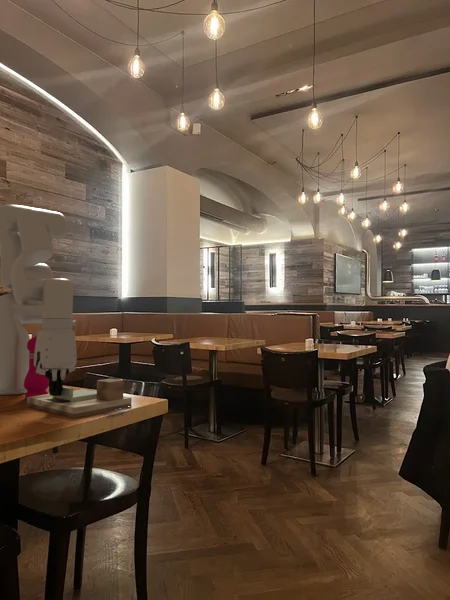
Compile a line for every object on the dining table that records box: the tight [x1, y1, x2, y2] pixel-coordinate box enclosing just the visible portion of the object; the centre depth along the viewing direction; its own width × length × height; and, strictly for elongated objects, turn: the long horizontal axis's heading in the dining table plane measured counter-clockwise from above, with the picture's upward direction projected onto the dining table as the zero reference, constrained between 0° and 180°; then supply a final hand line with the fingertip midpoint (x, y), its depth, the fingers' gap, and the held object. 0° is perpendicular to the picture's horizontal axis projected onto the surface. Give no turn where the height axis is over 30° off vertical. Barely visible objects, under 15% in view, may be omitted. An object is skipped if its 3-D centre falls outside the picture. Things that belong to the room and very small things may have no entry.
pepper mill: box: [24, 331, 49, 401], centre depth 137 cm, size 7×7×20 cm
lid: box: [52, 386, 97, 402], centre depth 125 cm, size 9×10×3 cm
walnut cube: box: [96, 378, 125, 401], centre depth 123 cm, size 5×5×5 cm
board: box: [26, 388, 133, 419], centre depth 125 cm, size 22×18×2 cm
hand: (55, 395), depth 119 cm, fingers closed
